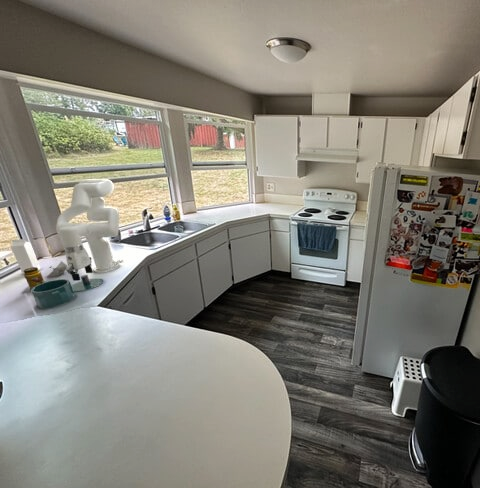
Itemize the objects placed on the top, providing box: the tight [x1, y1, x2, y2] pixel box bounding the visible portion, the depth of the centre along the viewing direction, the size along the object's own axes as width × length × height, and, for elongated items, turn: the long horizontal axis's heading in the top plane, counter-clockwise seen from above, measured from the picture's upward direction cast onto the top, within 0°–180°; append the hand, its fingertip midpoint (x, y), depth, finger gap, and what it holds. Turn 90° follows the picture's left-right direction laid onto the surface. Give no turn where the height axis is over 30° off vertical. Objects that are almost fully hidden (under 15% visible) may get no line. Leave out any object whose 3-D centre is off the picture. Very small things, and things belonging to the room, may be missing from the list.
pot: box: [30, 278, 76, 309], centre depth 129 cm, size 14×19×10 cm
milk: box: [10, 238, 41, 275], centre depth 157 cm, size 6×6×22 cm
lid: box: [71, 274, 104, 293], centre depth 145 cm, size 15×15×7 cm
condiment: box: [22, 267, 46, 294], centre depth 140 cm, size 7×8×12 cm
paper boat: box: [47, 260, 68, 278], centre depth 158 cm, size 12×6×9 cm
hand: (83, 276), depth 143 cm, fingers open, 9 cm apart
